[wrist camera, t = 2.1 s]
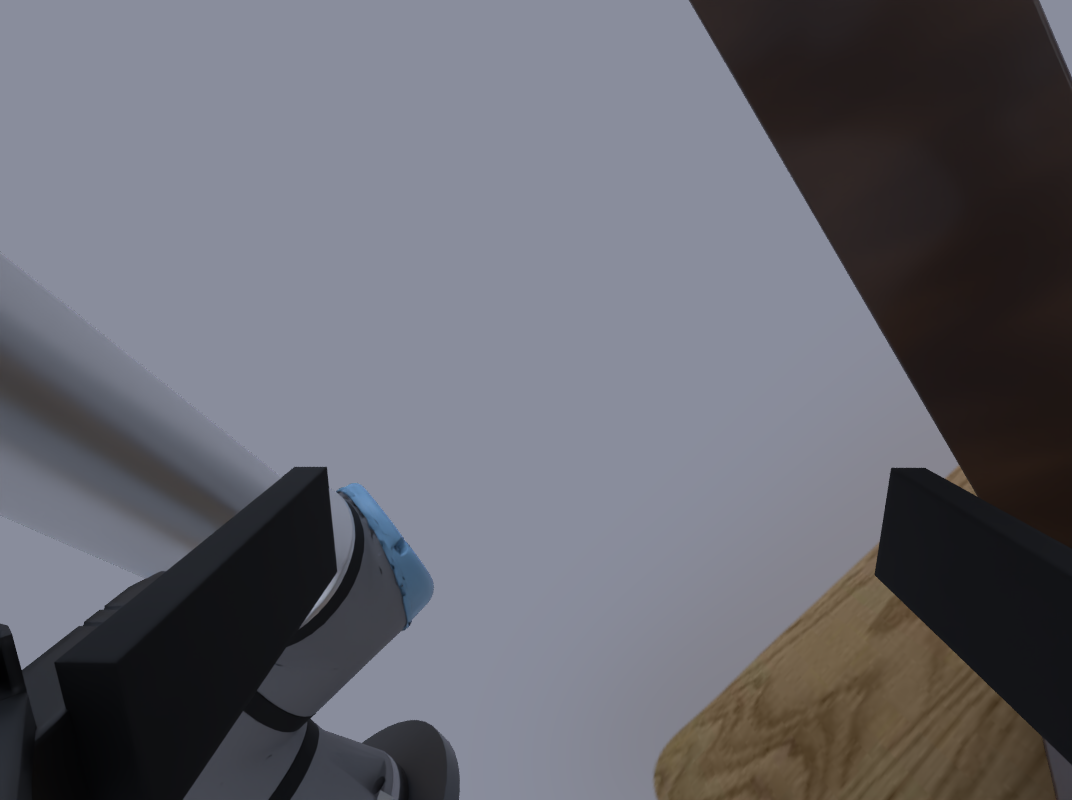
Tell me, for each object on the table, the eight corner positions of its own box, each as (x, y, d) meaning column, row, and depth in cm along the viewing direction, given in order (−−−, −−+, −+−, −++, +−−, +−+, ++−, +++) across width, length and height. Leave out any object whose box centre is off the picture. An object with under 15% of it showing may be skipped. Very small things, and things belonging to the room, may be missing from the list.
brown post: (1086, 881, 18) (282, -324, 9) (1009, 567, 27) (571, -178, 19) (1645, 976, 12) (829, -2024, 4) (1301, 533, 21) (853, -574, 13)
